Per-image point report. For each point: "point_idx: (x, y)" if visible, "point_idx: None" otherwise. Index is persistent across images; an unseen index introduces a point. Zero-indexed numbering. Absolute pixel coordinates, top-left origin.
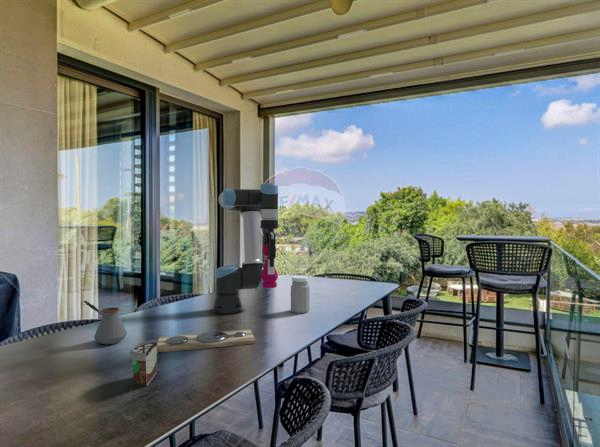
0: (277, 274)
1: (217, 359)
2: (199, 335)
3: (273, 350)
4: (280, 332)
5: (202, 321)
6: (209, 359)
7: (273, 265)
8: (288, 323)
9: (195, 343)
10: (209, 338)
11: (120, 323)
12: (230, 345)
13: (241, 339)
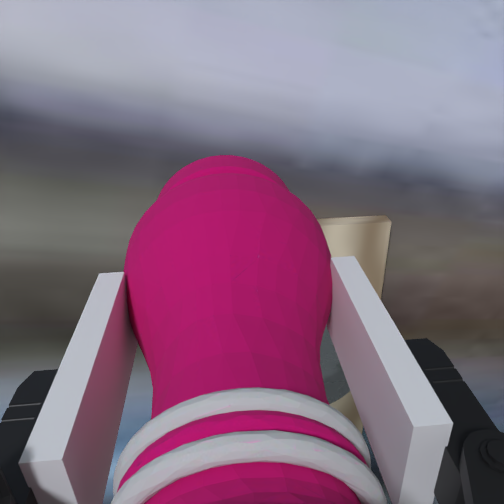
0: (269, 198)
1: (478, 335)
2: None
3: (494, 155)
4: (268, 74)
5: None
6: (466, 354)
7: (443, 353)
8: None
9: (349, 403)
10: (330, 374)
11: None
12: None
13: (366, 272)
